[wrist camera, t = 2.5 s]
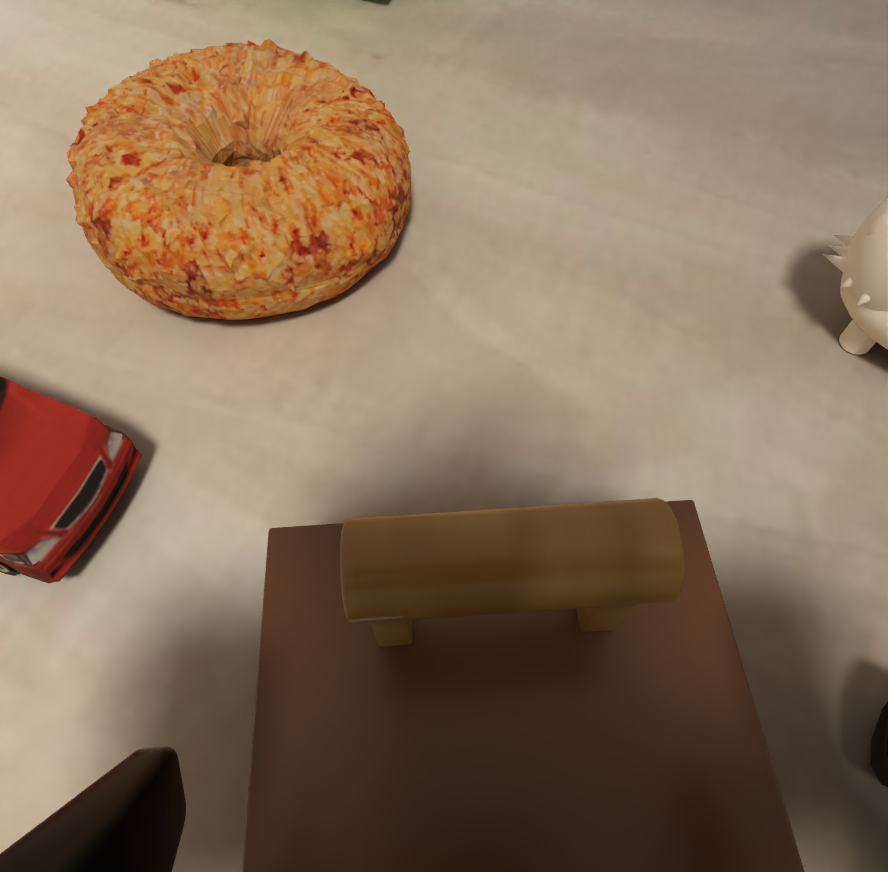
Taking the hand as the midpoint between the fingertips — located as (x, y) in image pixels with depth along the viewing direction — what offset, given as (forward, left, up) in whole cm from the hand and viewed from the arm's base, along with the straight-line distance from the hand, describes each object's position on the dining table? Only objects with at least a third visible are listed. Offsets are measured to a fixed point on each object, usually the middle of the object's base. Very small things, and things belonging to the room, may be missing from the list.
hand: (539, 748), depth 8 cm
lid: (0, 0, -5) cm, 5 cm away
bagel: (+12, +20, -10) cm, 25 cm away
